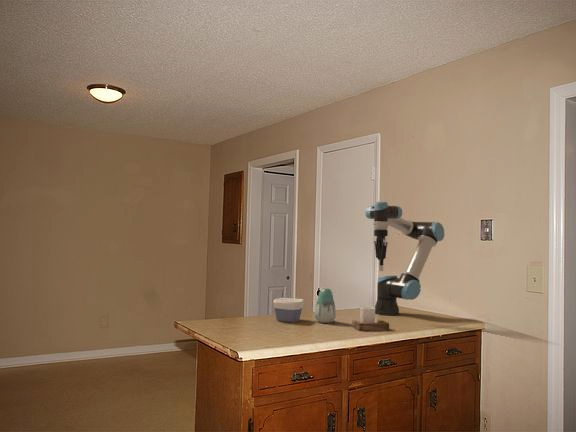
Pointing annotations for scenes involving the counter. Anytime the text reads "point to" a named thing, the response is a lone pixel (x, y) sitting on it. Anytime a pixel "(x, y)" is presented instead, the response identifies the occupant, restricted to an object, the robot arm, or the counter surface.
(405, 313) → the counter surface
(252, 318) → the counter surface
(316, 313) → the vase
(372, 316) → the white cup
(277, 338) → the counter surface
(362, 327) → the brown wooden tray
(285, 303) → the bowl
